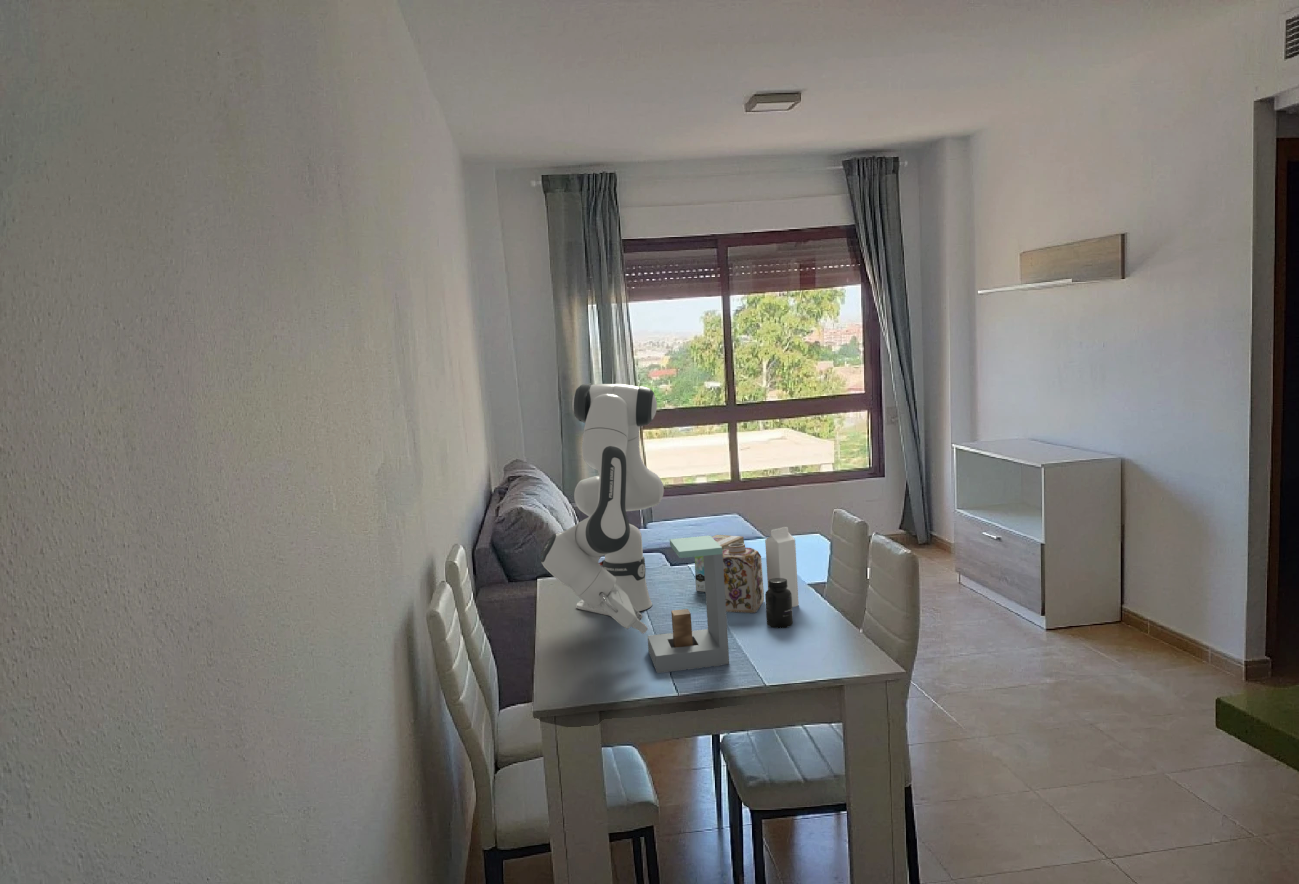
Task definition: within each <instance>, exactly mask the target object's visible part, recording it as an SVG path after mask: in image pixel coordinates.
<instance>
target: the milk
mask: <svg viewBox="0 0 1299 884" xmlns="http://www.w3.org/2000/svg"><path fill="white" fill-rule="evenodd" d="M764 541H765V556H766V557H765V560H766V577H767V590H769V589H770V588H769V587H768V585H769V579H773V578H784V579H787V585H788V587H787V589H788V590H790V591H791V594H792V608H795V607H798V606H800V605H799V588H798V570H797V569H798V568H797V567H798V566H797V553H796V552H797V551H796V549H797V547H796V539H795V538H794V536H793V535H792V534H791V533H790V532H789V527H788V526H783V527H779V528H774V529H771V530H770V536H768V537H767V538H765V540H764Z"/></svg>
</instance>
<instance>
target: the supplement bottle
mask: <svg viewBox="0 0 1299 884" xmlns="http://www.w3.org/2000/svg"><path fill="white" fill-rule="evenodd" d="M768 587H769V588H770V589H769V590H768V589H767V590H766V591H765V594H764V599H765V617H766V618H765V619H766V624H767V626H768V627H769V628H773V629H786V628H790V627H791V626H792V625H793V623H794V620H793V619H794V618H793V616H794V615H793V607H792V594H791V591H790V590H788V589H787V587H788V585H787V579H784V578H773V579H769V585H768V584H767V588H768Z"/></svg>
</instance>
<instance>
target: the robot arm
mask: <svg viewBox="0 0 1299 884" xmlns="http://www.w3.org/2000/svg"><path fill="white" fill-rule="evenodd" d="M571 406H572V411H573V415H574V417H575V418H576V419H577V420H578V421H579V422H581V423H584V427H583V434H582V444H581V450H582V451H581V452H582V453H581V454H582V459H583V461H584V462H585V464H587V466H589V467H590V468H591V469H593V470H596V471H597V472H598V475H595V476H590V477H588V478H584V479H581V480H579V481H578V483H576V486H575V488H574V493H573V496H574V497H573V499H574V503H575V505H576V507H577V508H578V510H579V511H580V512H582V513H583V514H584V515H586V516H588V517H586V518H584V519H582V520H581V521H579V522H578V523H576V524H575V525H573V526H572V527H570V528H568V529H565V530H563V531H561V532H560V531H559V532H557V533H553V534H552V535H551V536H550V537H549V538H548V539H547V541H546V542H545V543H544V545H543V547H542V549H541V552H540V557H539V558H540V562H541V565H542V566H543V567H544V569H546V570H547V571H548V572H549V573H550V574H551V575H552V576H553V577H554V578H555V579H557V581H559V583H561V584H563V586H566V587H569V588H570V589H571V590H572V591H573V593H574V594H575V595H576V596H577V597H578V598H579V599H581V600H579V601H577V603H576V606H575V607H576V609H579V610H582V611H587V612H591V613H594V614H595V613H596V614H599V615H600V614H601V615H605V616H610V617H611V618H612V619H613V620H615V621H616V622H617V623H618V624H619V625H620V626H621V627H623V628H624V629H627V630H629V629H630V628H633V629H635V630H637V631H638V632H640V633H641V634H642V635H644V634H645V633H647V631H648V629H649V628H648V626H647V625H646V624H645V623H644V622H643V621H641V620H642V619H643V615H642V614H641V611H645V610H647V609H650V608H651V607H652V606H653V603H652V600H651V597H650V594H649V590H648V585H647V580H646V561H645V559H646V558H645V556H644V553H643V551H644V550H643V539H642V533H641V530H640V529H639V528H638V527H637V526H635V525H633V524H631V523H630V522H629V519H628V515H627V512H632V511H633V512H634V511H640V510H641V511H642V510H646V509H650V508H653V507H656V506H658V505H660V503H661V501H662V499H663V497H664V494H665V493H664V492H665V489H664V483H663V481H662V479H661V478H660V476H659V475H658V474H657V473H655V472H653V471H652V470H650V469H649V468H648V467H647V466H646V465H645V464H644V462H643V459H642V458H641V457H642V456H641V451H640V450H641V449H640V427H644V426H649V424H651V423H652V422H653V420H654V418H655V416H656V413H657V411H658V410H657V409H658V403H657V398H656V396H655V392H654V391H653V390H652V389H651V388H650V387H646V386H643V385H640V386H637V385H631V384H624V383H597V384H593V383H584V384H580V385H579V386H578V387H577V388H576V390H575V392H574V394H573V398H572V404H571ZM603 556H604V559H603V560H601V561H600V562H599V560H600V558H601V557H603Z"/></svg>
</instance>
